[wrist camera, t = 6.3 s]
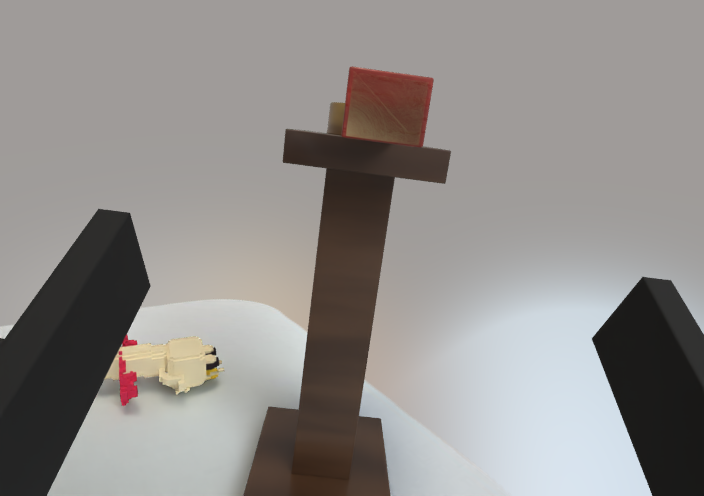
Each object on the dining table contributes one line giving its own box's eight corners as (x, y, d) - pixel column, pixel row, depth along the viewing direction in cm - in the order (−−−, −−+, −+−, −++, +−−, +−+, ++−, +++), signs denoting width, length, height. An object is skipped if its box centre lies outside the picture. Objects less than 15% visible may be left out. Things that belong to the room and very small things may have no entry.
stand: (392, 554, 35) (467, 152, 28) (234, 539, 34) (268, 126, 27) (378, 424, 50) (423, 146, 43) (268, 413, 50) (296, 129, 43)
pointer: (458, 152, 18) (470, 83, 17) (304, 132, 18) (312, 60, 17) (393, 142, 42) (397, 112, 42) (328, 133, 42) (331, 103, 41)
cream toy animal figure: (-62, 451, 40) (229, 396, 50) (-82, 362, 38) (228, 323, 48) (-26, 390, 49) (216, 354, 59) (-41, 314, 47) (214, 290, 57)
